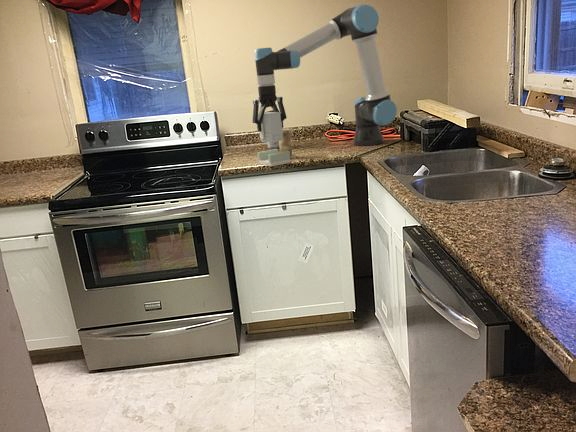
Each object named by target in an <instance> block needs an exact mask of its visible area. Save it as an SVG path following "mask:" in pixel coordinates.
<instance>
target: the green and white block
mask: <svg viewBox="0 0 576 432" xmlns="http://www.w3.org/2000/svg"><path fill="white" fill-rule="evenodd" d="M256 155H257V161H258V162H257V163H258V164H260V165H263V166H267V167H277V166H281V165H285V164H291V159H290V152H289V151H286V152H281V153H280V152H279V148H278V149H268V150H262V151H259V152H257V153H256Z"/></svg>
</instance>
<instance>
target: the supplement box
mask: <svg viewBox="0 0 576 432" xmlns="http://www.w3.org/2000/svg"><path fill="white" fill-rule="evenodd" d="M266 112H267V113H265V112H264V116H263V119H262V122H261V124H263V130H264V139H260V143H267V142H268V143H273V142H277V141H281V140H283V137H282V129H283V128H282V127H281V117H280V114H281V113H280V111H279V112H268V111H266ZM258 115H259V113H258Z"/></svg>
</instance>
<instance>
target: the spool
mask: <svg viewBox="0 0 576 432" xmlns="http://www.w3.org/2000/svg"><path fill="white" fill-rule="evenodd" d="M294 132H295V131H294V128H282V134H283V136H282V137H283V140H281V141H279V147H280V148H279V153H281V152H286V151H289V152H290V160H292V158H293V159H295V158H296V157H297V155H296V153H293V147H292V139H291V138H292V136H291V133H294Z"/></svg>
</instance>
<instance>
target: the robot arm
mask: <svg viewBox="0 0 576 432" xmlns="http://www.w3.org/2000/svg"><path fill="white" fill-rule="evenodd" d="M379 20H380V17H379V13H378V11H377V9H376V8H375V7H373V6H372V5H369V4H359V5H357V6H353V7H349V8H347V9H346V10H344V11H342V12H341V13H340V14H338V15H336V16H335V17H333V18H332V19H330V20H328V23H327V24H325V25H323V26H321V27H319V28H318V29H316V30H314V31H312V32H311V33H308V34H306V35H305V36H303V37H301V38H299V39H297V40H295V41H294V42H292V43H290V44H288V45H286V46H284V47H282V48H281V49H279V50H277V51H273V49H272V47H261V48H259V47H258V48H256V49H255V50H254V62H255V71H256V80H257V85H258V87H257V89H258V99H254V100H252V104H253V112H252V123H253V124H256V128H257V132H258V133H259V139H260V140H261V139H264V130H263V124H261V122H262V119H263V116H264V113H265V112H266V110H267V108H271V109H272V110H273V111H274V112H280V117H281V127H282V129H284V121H285V120H286V119H287V113H286V109H285V107H284V103H283V99H284V98H283V96H277V95H276V93H277V92H276V85H275V84H276V80H275V71H278V70H279V71H280V70H289V69H290V70H292V69H293V70H294V69H297V68H299V67H300V65H301V58H303V57H305V56H307V55H308V54H310V53H312V52H314V51H316V50H317V49H320V48H321V47H323V46H325V45H326V44H328V43H331V42H333V41H334V40H337V41H339V40H341V39H343V38H346V37H348V36H350V38H351V41H352V42H353V43H355V45H356V49H357V54H358V58H359V64H360V67H361V72H362V77H363V81H364V87H365V91H366V96H362V97H358V98H356V99H355V100H354V113H355V114H354V115H355V117H354V118H355V132H354V135H353V139H352V140H353V141H352V144H353V145H354V146H376V145H380V144H383V143H384V136H383V132H382V130H381V128H380V126H387V125H390V124H392V122H393V121H394V120H395V119H396V117H397V114H398V113H397V112H398V108H397V105H396V103H395V102H394V101H392V100H391V99H392V98H391V94H390V92H388V91H386V88H385V87H386V86H385V82H384V78H383V77H384V76H383V72H382V68H381V62H380V58H379V52H378V47H377V42H376V37H377V35H378V30H377V27H378V24H379V22H380V21H379ZM276 102H277V104H276ZM259 104H260V105H259ZM277 105H278V106H277ZM259 106H260V109H259ZM258 114H259V115H258ZM282 136H283V134H282Z"/></svg>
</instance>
